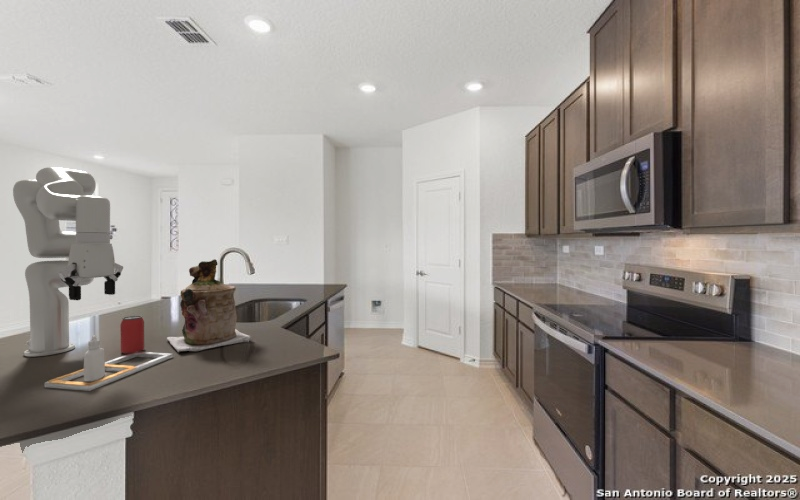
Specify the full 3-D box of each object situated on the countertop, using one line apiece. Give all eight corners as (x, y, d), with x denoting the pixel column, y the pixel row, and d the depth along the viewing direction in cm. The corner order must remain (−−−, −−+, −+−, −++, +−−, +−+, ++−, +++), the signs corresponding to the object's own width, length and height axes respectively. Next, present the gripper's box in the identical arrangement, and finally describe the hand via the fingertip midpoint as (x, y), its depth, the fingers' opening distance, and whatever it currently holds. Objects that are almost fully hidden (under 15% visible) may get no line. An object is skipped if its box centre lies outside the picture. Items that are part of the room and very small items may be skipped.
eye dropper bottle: (77, 381, 95) (76, 337, 94) (100, 373, 100) (99, 332, 100) (88, 383, 93) (88, 339, 93) (111, 375, 99) (110, 334, 98)
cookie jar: (232, 330, 151) (231, 257, 150) (253, 342, 133) (252, 259, 132) (165, 340, 134) (164, 258, 133) (178, 356, 116) (177, 261, 115)
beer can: (131, 354, 117) (131, 319, 117) (115, 353, 118) (115, 318, 118) (149, 349, 123) (148, 315, 123) (134, 347, 125) (133, 314, 124)
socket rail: (44, 387, 91) (44, 381, 91) (136, 354, 117) (136, 350, 117) (89, 390, 88) (89, 385, 88) (173, 357, 115) (173, 353, 115)
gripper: (111, 238, 110) (111, 291, 110) (48, 238, 93) (48, 301, 93) (132, 239, 108) (131, 293, 109) (70, 239, 91) (71, 303, 92)
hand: (93, 296), depth 101 cm, fingers open, 9 cm apart
